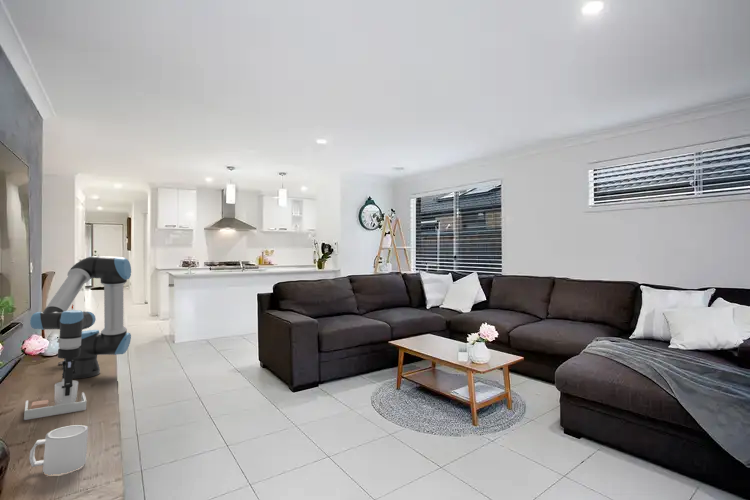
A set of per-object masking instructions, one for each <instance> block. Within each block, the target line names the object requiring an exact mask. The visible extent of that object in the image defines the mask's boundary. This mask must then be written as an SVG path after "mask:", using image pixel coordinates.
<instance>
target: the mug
mask: <svg viewBox="0 0 750 500" xmlns="http://www.w3.org/2000/svg"><path fill="white" fill-rule="evenodd" d="M88 436H89V427H88V426H87V425H84V424H75V425H74V424H72V425H66V426H62V427H57V428H56V429H52V430H51V431H48V432H47V433H46V434H45V438H44V439H37V440H36V442H35V443H34V445H33V446H32V447H31V449H30V451H29V458H28V459H29V463H30V465H31V468H34V467H39V466H42V473H43V472H44V473H45V474H48V475H51V474H52V475H53V474H61V473H67V472H70V471H73V470H76V469H78V468H80V467H81V466H83V465H84V464H85V463H86V461H87V449H88V448H87V447H88ZM38 445H39V446H40V445H44V453H43V459H41V460H37V459H36V458H35V455H36V453H35V452H36V447H37V446H38ZM85 465H86V464H85Z"/></svg>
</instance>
